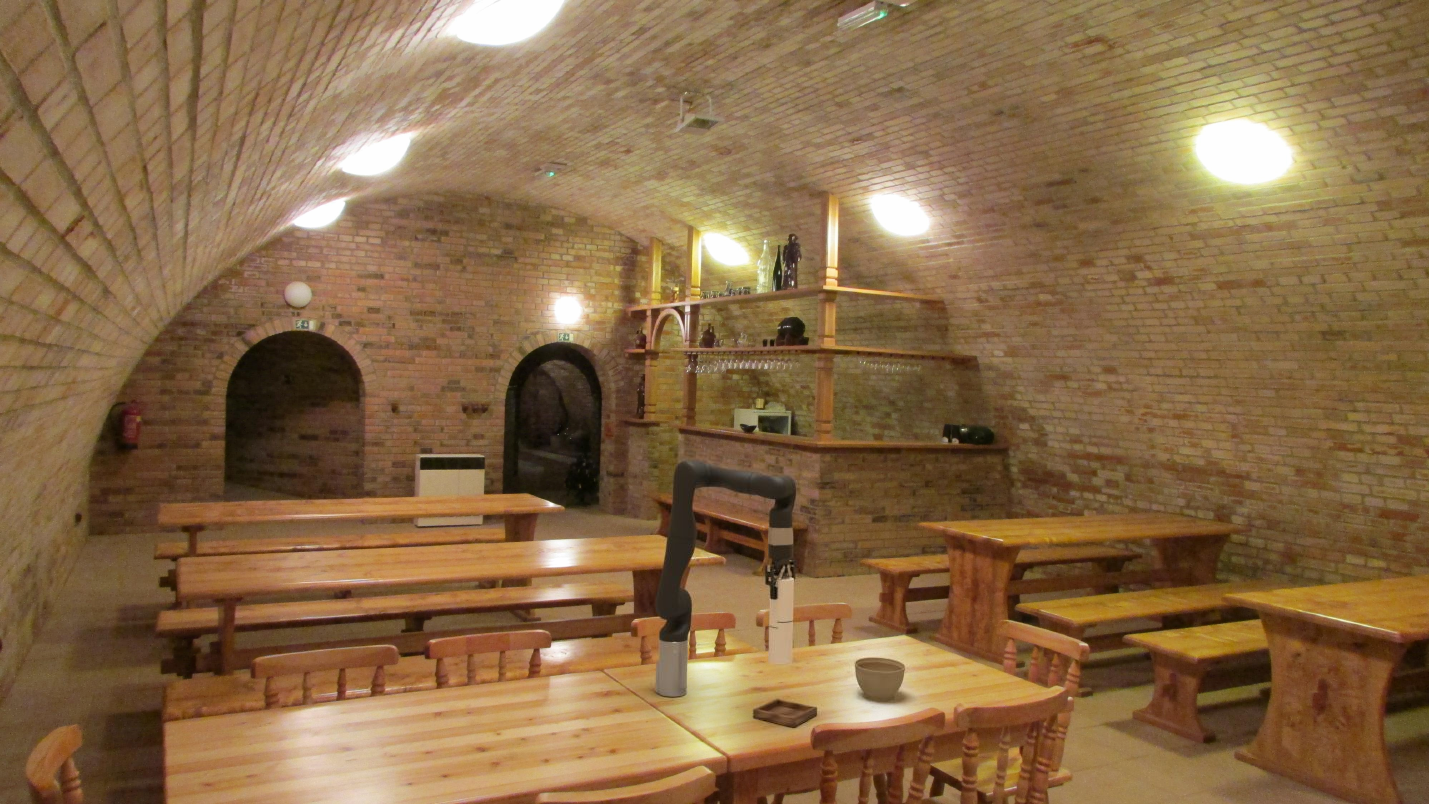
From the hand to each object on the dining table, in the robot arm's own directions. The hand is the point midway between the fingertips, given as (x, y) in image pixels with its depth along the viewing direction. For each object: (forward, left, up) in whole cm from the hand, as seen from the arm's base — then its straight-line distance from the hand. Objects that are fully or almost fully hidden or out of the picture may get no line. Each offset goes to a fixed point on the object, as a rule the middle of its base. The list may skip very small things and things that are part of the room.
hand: (780, 597), depth 291 cm
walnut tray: (+2, +1, -36) cm, 36 cm away
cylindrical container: (0, 0, -20) cm, 20 cm away
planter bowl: (+16, +37, -36) cm, 54 cm away
